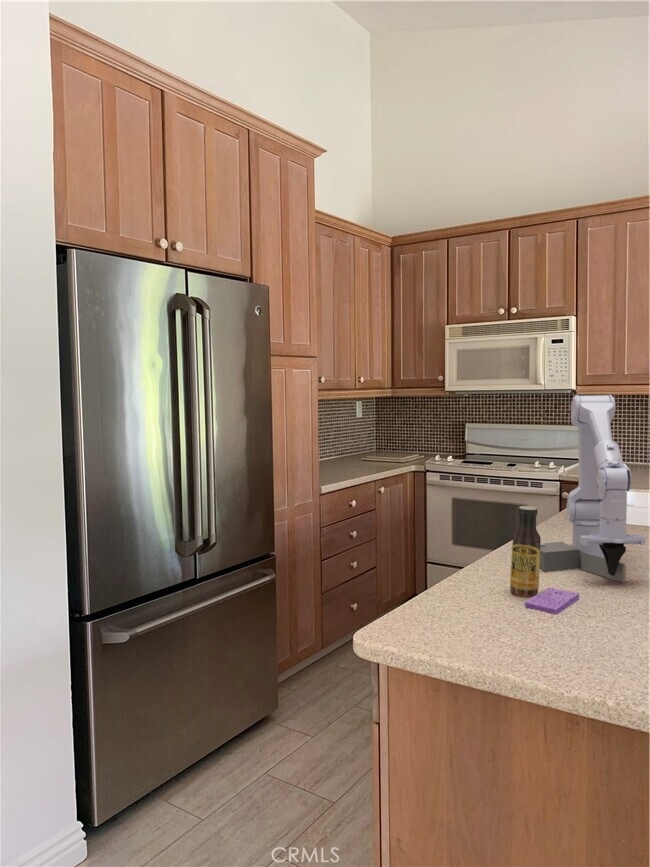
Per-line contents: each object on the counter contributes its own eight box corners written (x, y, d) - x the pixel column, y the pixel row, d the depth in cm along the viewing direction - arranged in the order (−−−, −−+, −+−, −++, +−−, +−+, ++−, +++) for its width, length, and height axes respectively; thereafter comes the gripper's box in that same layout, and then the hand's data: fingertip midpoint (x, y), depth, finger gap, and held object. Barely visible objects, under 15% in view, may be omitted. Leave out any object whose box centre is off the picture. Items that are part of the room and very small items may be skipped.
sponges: (579, 601, 145) (579, 592, 145) (556, 617, 136) (556, 608, 136) (548, 594, 150) (548, 586, 150) (524, 609, 140) (524, 601, 140)
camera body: (561, 560, 175) (561, 539, 174) (579, 568, 167) (579, 547, 167) (525, 563, 172) (525, 542, 172) (542, 572, 165) (542, 550, 164)
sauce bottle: (507, 595, 148) (507, 508, 146) (513, 587, 153) (513, 503, 152) (537, 599, 145) (538, 511, 143) (542, 591, 150) (543, 505, 149)
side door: (578, 568, 167) (578, 551, 166) (582, 567, 167) (582, 550, 167) (622, 582, 154) (623, 564, 154) (627, 581, 155) (627, 563, 155)
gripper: (588, 521, 150) (587, 579, 152) (652, 521, 150) (650, 579, 151) (577, 515, 158) (576, 570, 159) (638, 514, 157) (637, 570, 158)
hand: (611, 574), depth 155 cm, fingers closed
